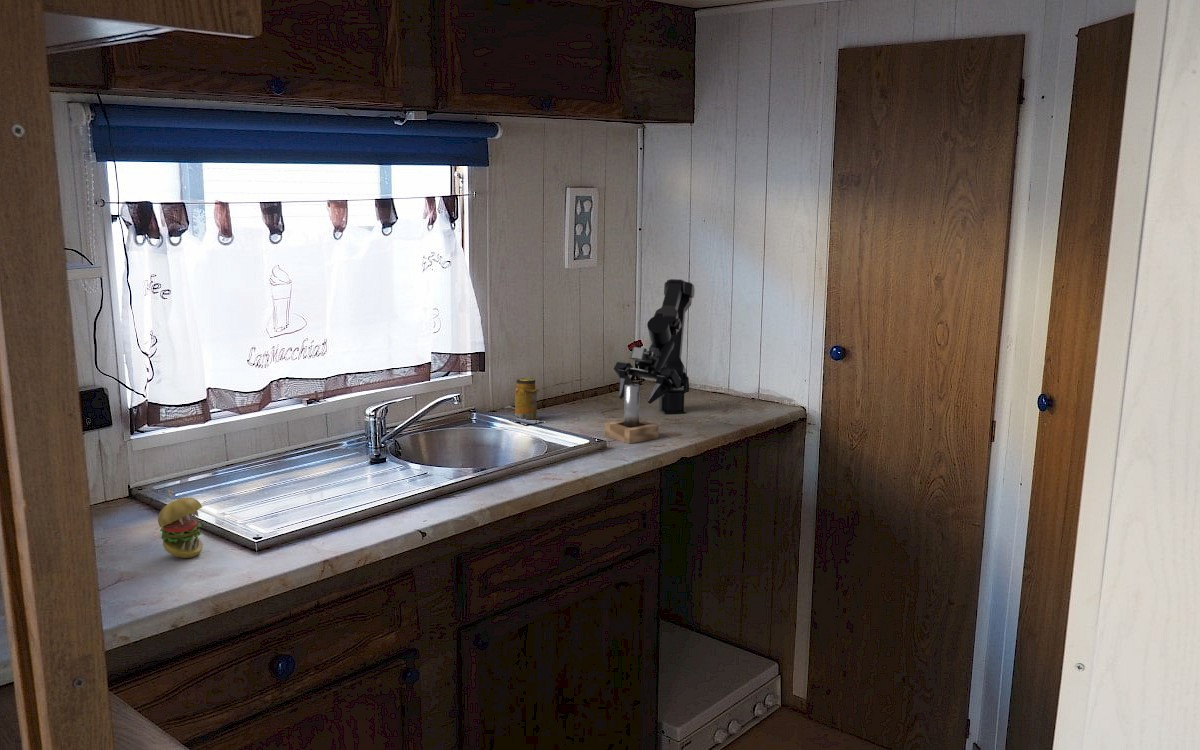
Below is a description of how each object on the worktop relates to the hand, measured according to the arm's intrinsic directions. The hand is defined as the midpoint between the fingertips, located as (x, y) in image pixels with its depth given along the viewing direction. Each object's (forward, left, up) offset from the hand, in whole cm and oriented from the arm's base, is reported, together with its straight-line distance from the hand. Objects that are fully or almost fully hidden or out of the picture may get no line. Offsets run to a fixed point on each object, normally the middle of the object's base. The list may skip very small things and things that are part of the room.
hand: (634, 400), depth 270 cm
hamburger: (+103, +68, -10) cm, 124 cm away
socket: (+1, +1, -10) cm, 10 cm away
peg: (+1, +1, -10) cm, 10 cm away
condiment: (+25, -22, -10) cm, 35 cm away
